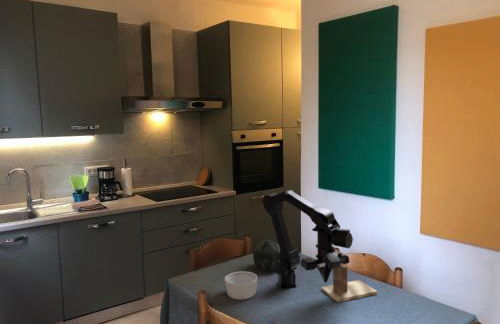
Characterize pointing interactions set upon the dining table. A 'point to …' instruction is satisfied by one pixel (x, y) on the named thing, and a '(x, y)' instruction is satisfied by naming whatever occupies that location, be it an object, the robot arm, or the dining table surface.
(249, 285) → the ramekin
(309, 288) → the dining table surface
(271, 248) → the squash
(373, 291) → the birch board
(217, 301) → the dining table surface
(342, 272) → the walnut block
